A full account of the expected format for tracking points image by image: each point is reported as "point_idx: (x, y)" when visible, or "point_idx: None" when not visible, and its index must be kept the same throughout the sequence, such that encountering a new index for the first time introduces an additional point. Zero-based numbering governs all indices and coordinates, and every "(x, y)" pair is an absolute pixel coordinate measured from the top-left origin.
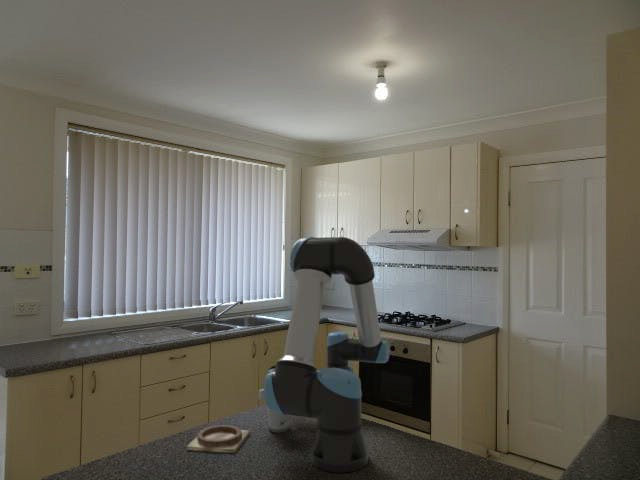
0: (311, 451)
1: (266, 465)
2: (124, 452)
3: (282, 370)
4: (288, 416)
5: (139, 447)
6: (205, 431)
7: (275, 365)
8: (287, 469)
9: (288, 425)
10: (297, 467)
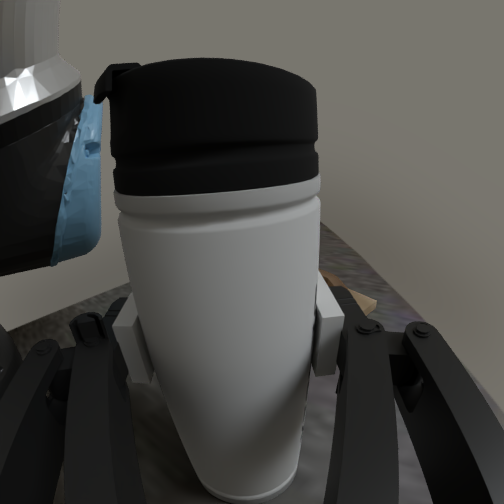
0: (12, 341)
1: (101, 312)
2: (336, 237)
3: (41, 105)
4: (191, 459)
5: (345, 245)
6: (328, 281)
7: (315, 89)
8: (57, 321)
9: (202, 482)
10: (42, 332)
